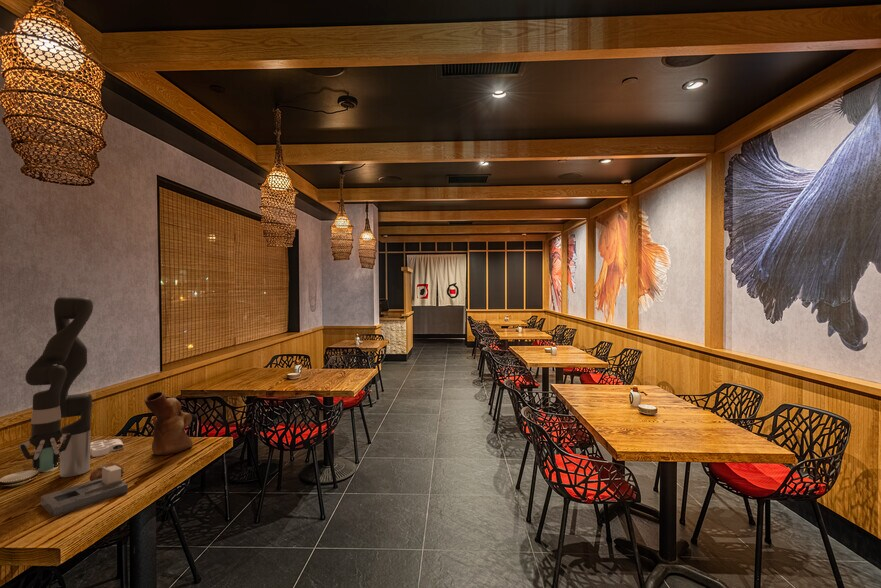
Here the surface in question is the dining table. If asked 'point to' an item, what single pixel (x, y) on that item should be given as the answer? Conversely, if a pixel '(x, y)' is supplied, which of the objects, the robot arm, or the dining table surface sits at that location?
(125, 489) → the housing
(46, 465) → the peg
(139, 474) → the dining table surface
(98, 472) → the bread roll
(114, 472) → the block
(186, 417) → the ceramic vessel
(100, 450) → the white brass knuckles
